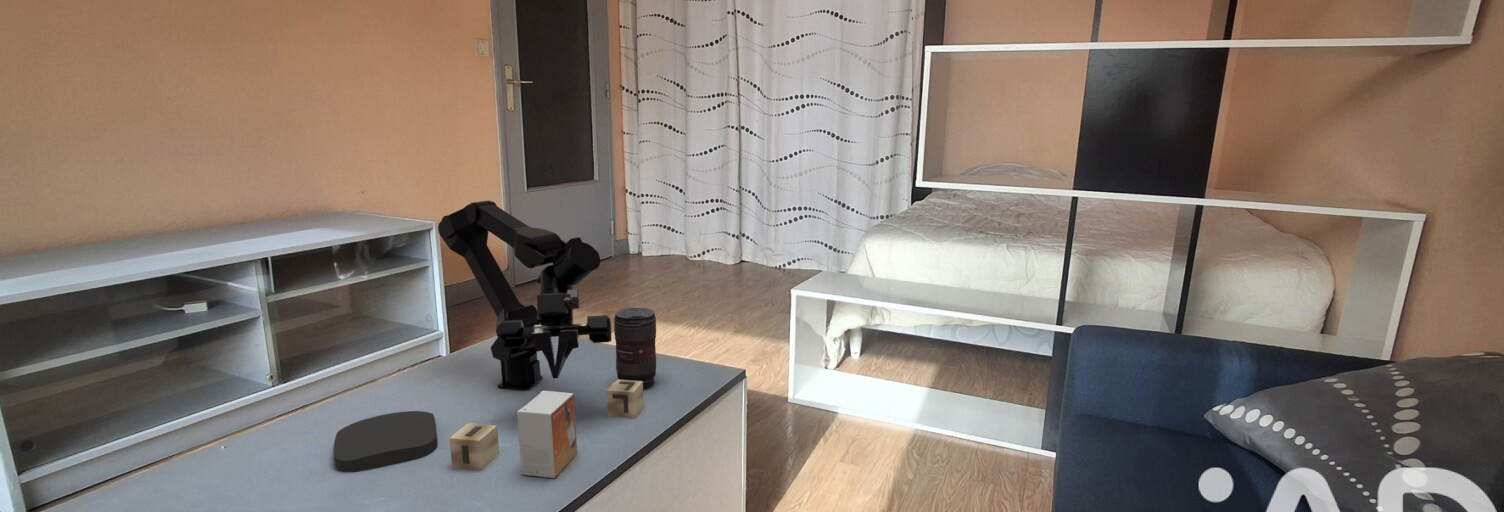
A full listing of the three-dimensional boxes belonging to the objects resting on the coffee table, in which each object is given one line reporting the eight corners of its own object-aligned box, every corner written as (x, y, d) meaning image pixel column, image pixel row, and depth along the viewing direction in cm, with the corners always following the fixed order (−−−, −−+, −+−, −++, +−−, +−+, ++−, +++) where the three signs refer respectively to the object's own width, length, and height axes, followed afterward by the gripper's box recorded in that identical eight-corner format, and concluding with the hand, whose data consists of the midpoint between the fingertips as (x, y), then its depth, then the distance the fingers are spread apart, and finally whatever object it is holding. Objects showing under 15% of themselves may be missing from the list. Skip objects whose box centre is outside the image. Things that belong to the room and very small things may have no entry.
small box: (554, 479, 102) (550, 414, 99) (520, 475, 103) (515, 411, 100) (578, 453, 109) (575, 392, 107) (546, 449, 110) (542, 389, 108)
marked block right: (607, 416, 122) (606, 389, 121) (617, 404, 127) (616, 378, 126) (634, 418, 121) (633, 391, 120) (643, 406, 126) (642, 380, 125)
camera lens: (662, 388, 134) (660, 315, 131) (621, 394, 131) (618, 320, 128) (652, 373, 141) (649, 304, 138) (613, 379, 138) (609, 308, 135)
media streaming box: (333, 479, 102) (330, 461, 102) (339, 437, 115) (337, 421, 114) (439, 456, 109) (438, 439, 108) (434, 419, 121) (432, 404, 121)
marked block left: (451, 468, 105) (448, 437, 104) (470, 451, 110) (467, 422, 109) (481, 471, 104) (478, 440, 103) (499, 454, 109) (496, 425, 108)
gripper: (494, 275, 114) (487, 361, 105) (608, 270, 117) (610, 353, 109) (505, 307, 123) (499, 388, 115) (610, 301, 126) (612, 380, 118)
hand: (555, 377), depth 114 cm, fingers closed
